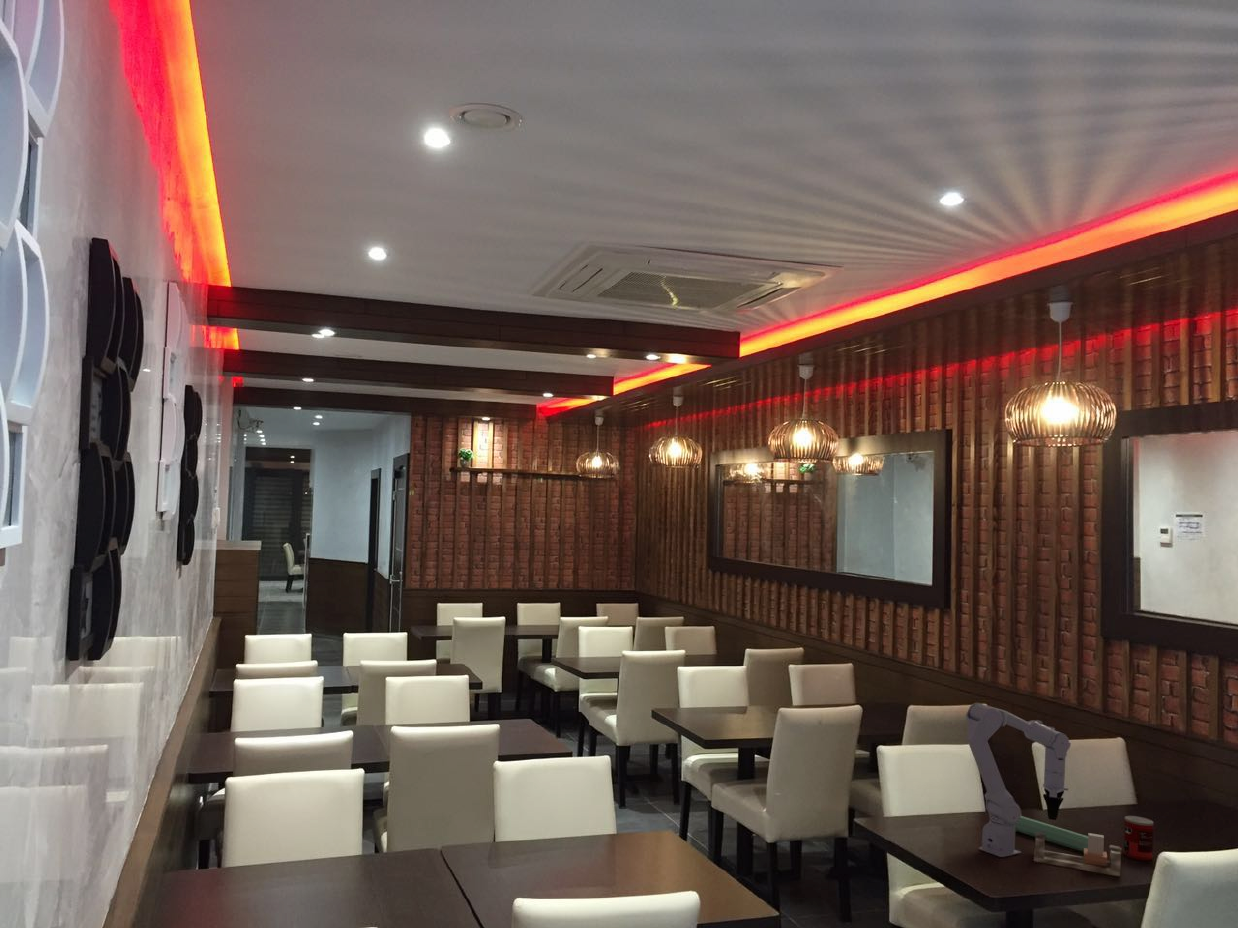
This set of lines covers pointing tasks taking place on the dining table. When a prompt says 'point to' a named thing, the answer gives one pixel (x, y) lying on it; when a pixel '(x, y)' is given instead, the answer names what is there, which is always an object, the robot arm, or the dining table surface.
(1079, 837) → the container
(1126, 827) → the canned food
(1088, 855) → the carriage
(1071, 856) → the rail
